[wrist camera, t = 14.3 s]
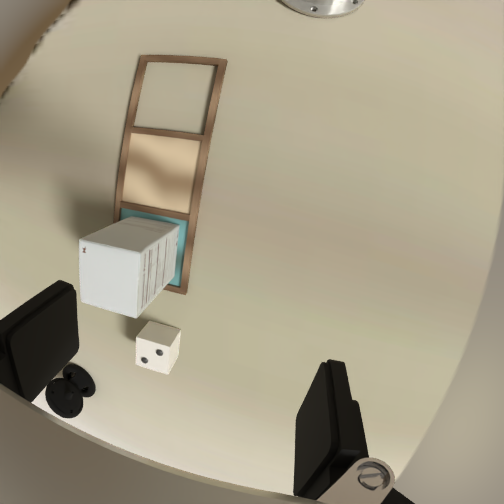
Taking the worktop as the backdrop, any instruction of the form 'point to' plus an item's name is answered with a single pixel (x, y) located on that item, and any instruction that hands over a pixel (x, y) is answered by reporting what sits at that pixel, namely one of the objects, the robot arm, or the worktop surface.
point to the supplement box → (127, 264)
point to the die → (157, 347)
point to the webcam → (69, 391)
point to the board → (166, 169)
